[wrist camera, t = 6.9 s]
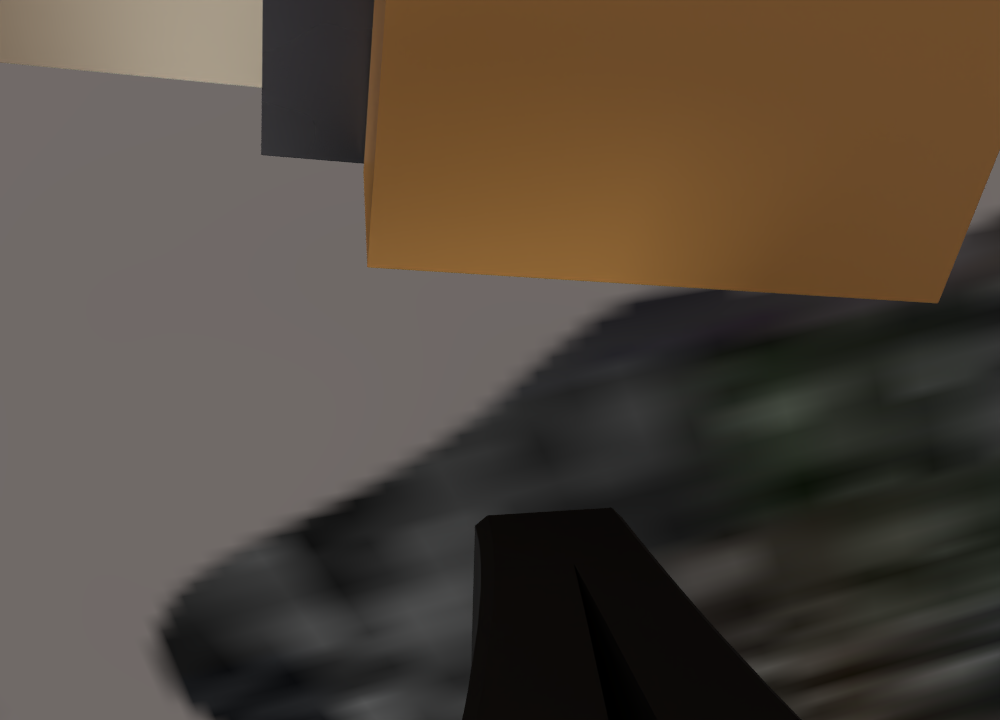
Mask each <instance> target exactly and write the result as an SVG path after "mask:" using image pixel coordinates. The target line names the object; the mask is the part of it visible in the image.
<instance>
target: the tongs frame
mask: <svg viewBox="0 0 1000 720" xmlns="http://www.w3.org/2000/svg"><path fill="white" fill-rule="evenodd" d="M373 13H374V0H263V21H262V143H261V148H262V149H261V154H262V155H268V156H280V157H293V158H304V159H316V160H328V161H341V162H352V163H364V155H365V139H366V124H367V108H368V92H369V76H370V60H371V45H372V29H373Z"/></svg>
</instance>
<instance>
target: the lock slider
mask: <svg viewBox="0 0 1000 720" xmlns="http://www.w3.org/2000/svg"><path fill="white" fill-rule="evenodd" d="M999 150H1000V0H374V13H373V29H372V45H371V60H370V76H369V92H368V108H367V124H366V139H365V155H364V172H363V173H364V196H365V221H366V243H367V244H366V245H367V267H371V268H386V269H402V270H418V271H434V272H451V273H466V274H482V275H498V276H514V277H529V278H530V277H531V278H545V279H561V280H577V281H594V282H609V283H625V284H641V285H657V286H672V287H688V288H704V289H720V290H736V291H752V292H768V293H784V294H800V295H815V296H831V297H847V298H863V299H879V300H895V301H911V302H927V303H938V302H939V299H940V297H941V295H942V292H943V290H944V287H945V285H946V282H947V280H948V277H949V275H950V272H951V270H952V267H953V265H954V262H955V260H956V257H957V255H958V252H959V250H960V247H961V245H962V242H963V240H964V237H965V235H966V232H967V230H968V227H969V225H970V222H971V220H972V217H973V215H974V213H975V210H976V208H977V205H978V203H979V200H980V197H981V195H982V192H983V190H984V187H985V185H986V183H987V180H988V178H989V175H990V173H991V170H992V168H993V165H994V163H995V160H996V158H997V155H998V153H999Z"/></svg>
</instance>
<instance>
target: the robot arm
mask: <svg viewBox="0 0 1000 720" xmlns="http://www.w3.org/2000/svg"><path fill="white" fill-rule="evenodd" d="M462 720H801V719H800V718H799V717H798V716H797V715H796V714H795V713H794V712H793V711H792V710H791V709H790V708H789V707H788V705H787V704H786V703H785V702H784V701H783V700H782V699H781V698H780V697H779V696H778V695H777V694H776V693H775V692H774V691H773V690H772V689H771V688H770V687H769V686H768V685H767V684H766V683H765V682H764V681H763V680H762V679H761V677H760V676H759V675H758V674H757V673H756V672H755V671H754V670H753V669H752V668H751V667H750V666H749V665H748V663H747V662H746V661H745V660H744V659H743V658H742V657H741V656H740V655H739V654H738V653H737V652H736V650H735V649H734V648H733V647H732V646H731V645H730V644H729V643H728V642H727V641H726V640H725V639H724V638H723V636H722V635H721V634H720V633H719V632H718V631H717V630H716V629H715V628H714V627H713V625H712V624H711V623H710V622H709V621H708V620H707V619H706V618H705V616H704V615H703V614H702V613H701V612H700V611H699V610H698V608H697V607H696V606H695V605H694V604H693V603H692V601H691V600H690V599H689V598H688V597H687V596H686V594H685V593H684V592H683V591H682V590H681V589H680V587H679V586H678V585H677V584H676V583H675V582H674V580H673V579H672V578H671V577H670V576H669V575H668V573H667V572H666V571H665V570H664V569H663V567H662V566H661V565H660V564H659V563H658V561H657V560H656V559H655V558H654V557H653V555H652V554H651V553H650V552H649V550H648V549H647V548H646V547H645V546H644V544H643V543H642V542H641V541H640V539H639V538H638V537H637V536H636V534H635V533H634V532H633V531H632V530H631V528H630V527H629V526H628V525H627V523H626V522H625V521H624V520H623V518H622V517H621V516H620V515H619V514H618V513H617V512H616V511H615V510H613V509H612V508H600V509H584V510H568V511H553V512H537V513H521V514H505V515H489V516H486V517H485V518H484V519H483V520H481V521H480V522H479V523H478V524H477V525H475V549H474V586H473V622H472V668H471V674H470V681H469V687H468V693H467V699H466V704H465V709H464V714H463V718H462Z"/></svg>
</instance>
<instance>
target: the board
mask: <svg viewBox="0 0 1000 720" xmlns="http://www.w3.org/2000/svg"><path fill="white" fill-rule="evenodd" d="M262 21H263V0H0V62H1V63H11V64H22V65H33V66H43V67H54V68H63V69H74V70H84V71H95V72H105V73H116V74H126V75H136V76H147V77H157V78H168V79H179V80H188V81H199V82H210V83H221V84H230V85H241V86H251V87H261V88H262Z"/></svg>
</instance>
